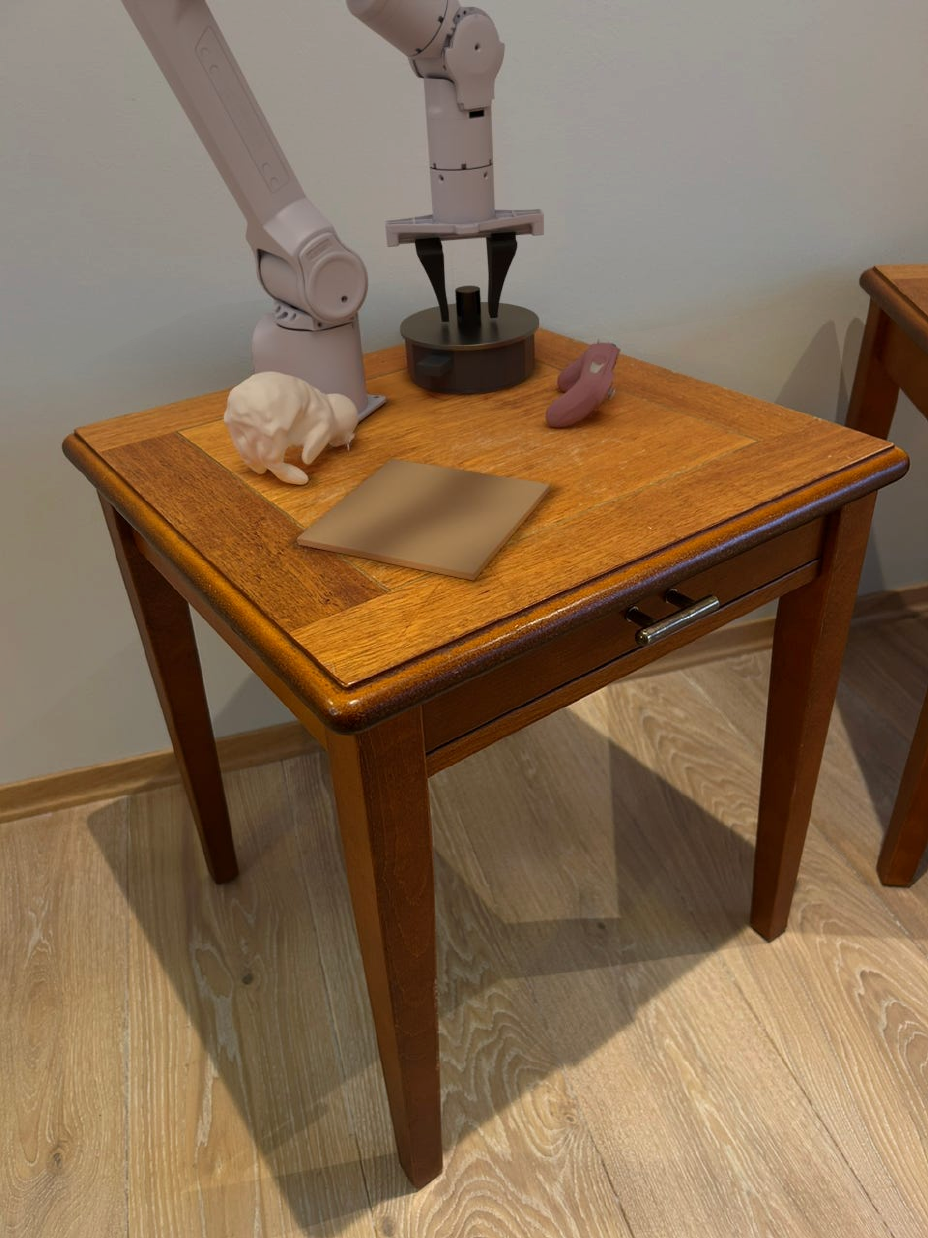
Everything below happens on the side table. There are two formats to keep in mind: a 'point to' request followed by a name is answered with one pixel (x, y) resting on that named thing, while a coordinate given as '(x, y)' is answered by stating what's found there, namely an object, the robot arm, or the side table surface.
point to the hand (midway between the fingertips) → (469, 316)
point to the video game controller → (584, 385)
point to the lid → (469, 324)
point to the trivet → (427, 518)
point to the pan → (471, 367)
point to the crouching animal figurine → (286, 422)
